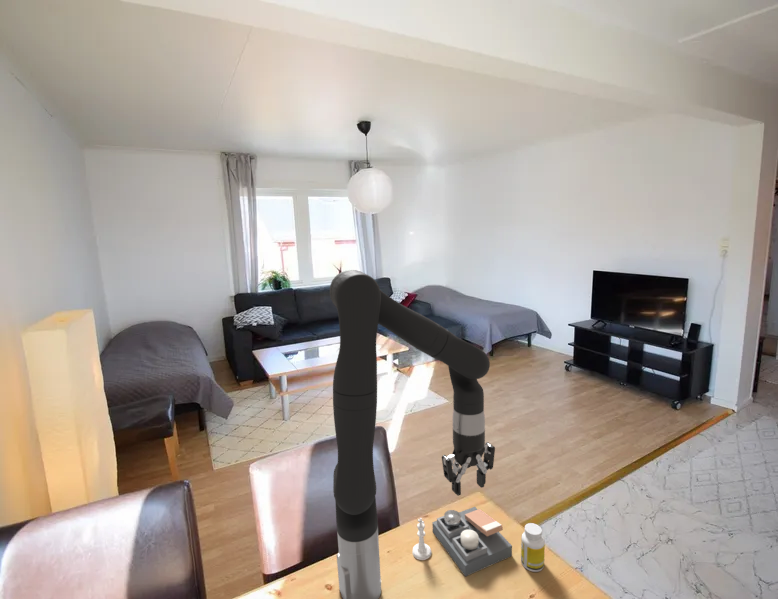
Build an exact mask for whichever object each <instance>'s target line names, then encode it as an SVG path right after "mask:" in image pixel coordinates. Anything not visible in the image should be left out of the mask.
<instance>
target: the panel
mask: <svg viewBox="0 0 778 599" xmlns="http://www.w3.org/2000/svg"><path fill="white" fill-rule="evenodd" d="M478 509H479V508H477V507H476V506H473V507H471V508H468V509H465V510H462V511H460V512H459V511H458V512H459V513H460V515H461V525H460V526H459V527H457V528H449V527H447V526H446V525H445V523H444V515H443V516H439V517H437V518H436V520H435V521H432V522H431V523H432V524H431V525H432V533H433V535H434V536H435V537H436V539H437V540H438V541H439V543H440V544H441V545H442V547H443V548H444V550H445V551H446V552H447V553H448V555H449V557H450V558H451V559H452V560H453V562H454V563H455V564H456V566H457V567H458V569H459V570H460V571H461V573H462V574H463V576H464V577H467V576H470V575H472V574H474V573H477V572H479V571H481V570H483V569H485V568H488V567H490V566H492V565H495V564H497V563H500V562H501V561H503V560H506V559H508V558H511V557H512V556H513V545H512V544H511V543H510V542H509V540H508V539H506V537H504V535H503V534H502V533H501V532H500V531H499V532H497V533H494V534H492V535H489V536H486V535H484V534H483V533H482V532H481V531H480V530H478V529H477V528H476V527H475V526H473V525H472V524H471V523H470V522H468V521H467V520H466V519H465V514H467V513H470V512H472V511H475V510H478ZM464 530H473V531H475V532H476V533H477V534H478V536H479V545H478V547H477V548H476V549H474V550H468V549H465V548H464V547H463V546H462V545H461V533H462V531H464Z"/></svg>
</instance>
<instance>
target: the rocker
mask: <svg viewBox="0 0 778 599" xmlns="http://www.w3.org/2000/svg"><path fill="white" fill-rule="evenodd" d="M477 509H478V510H475V511H472V512H470V513H467V514H465V519H466V520H467V521H468V522H470V523H471V524H472V525H473V526H475V527H476V528H477V529H478V530H480V531H481V532H482V533H483V534H484V535H486V536H489V535H492V534H494V533H497V532H499V533H500V532H501V531H504V528H503V524H501V523H500V522H499V521H497V520H496V519H494V518H493V517H492V516H490V515H489V514H487V513H486V512H485V511H483V510H482V509H480V508H477Z"/></svg>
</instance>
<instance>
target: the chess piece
mask: <svg viewBox="0 0 778 599" xmlns="http://www.w3.org/2000/svg"><path fill="white" fill-rule="evenodd" d="M416 524H417V525H416V527H417V529H418V531H417V532H416V533H417V534H416V535H417V536H418V537H419V540H418V543H416V544H414V546H413V547H412V556H413V557H414V558H415V559H417V560H419V561H425V560H427V559H429V558H430V557H431V556H432V549H431V547H430V545H429V544H427V543H425V539H424V537H425V536H426V531H425V528H426V525H425V521H423V518H422V517H419V518H418V519H417V523H416Z"/></svg>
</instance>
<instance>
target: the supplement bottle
mask: <svg viewBox="0 0 778 599" xmlns="http://www.w3.org/2000/svg"><path fill="white" fill-rule="evenodd" d="M520 545H521V546H520V558H521V559H520V563H521V564H522V566H523V567H524V569H526V570H528V572H529V571H530V572H533V573H538V572H541V571H542V570H543V569H544V567H545V552H546V551H545V548H546V547H545V546H546V544H545V538H544V536H543V529H542V527H541V526H540V525H538V524H536V523H533V522H529V523H526V524H525V525H524V531H523V533H522V534H521V543H520Z"/></svg>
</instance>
